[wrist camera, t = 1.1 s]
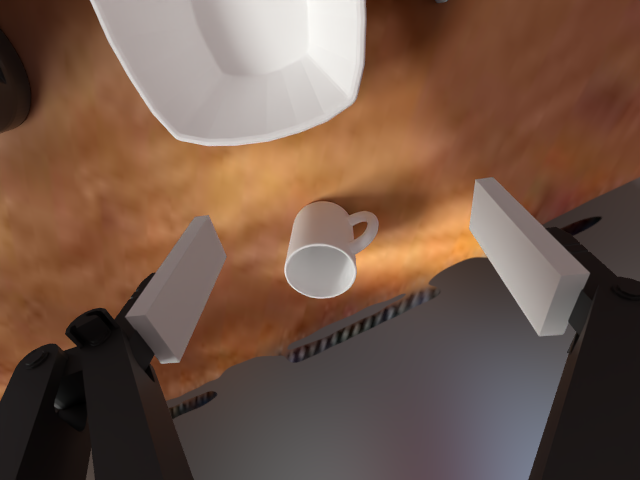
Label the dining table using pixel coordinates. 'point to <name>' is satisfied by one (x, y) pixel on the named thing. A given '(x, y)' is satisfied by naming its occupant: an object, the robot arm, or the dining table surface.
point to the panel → (441, 1)
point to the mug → (326, 249)
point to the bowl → (239, 63)
